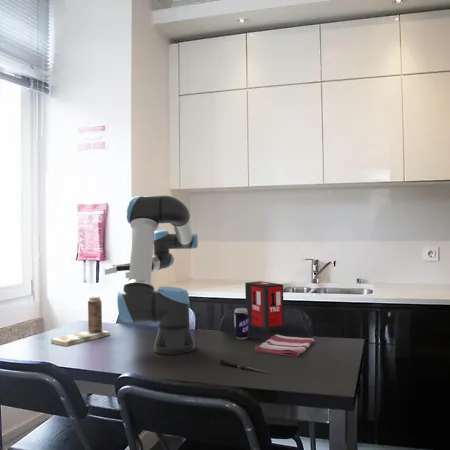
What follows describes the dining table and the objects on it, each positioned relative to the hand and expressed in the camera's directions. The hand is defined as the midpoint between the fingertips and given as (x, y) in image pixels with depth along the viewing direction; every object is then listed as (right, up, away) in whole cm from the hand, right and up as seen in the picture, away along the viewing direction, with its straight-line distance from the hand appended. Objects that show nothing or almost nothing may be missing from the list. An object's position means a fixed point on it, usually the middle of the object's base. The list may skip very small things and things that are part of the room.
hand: (115, 273), depth 206 cm
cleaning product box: (+67, -25, +3) cm, 72 cm away
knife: (+58, -25, -60) cm, 87 cm away
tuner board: (-11, -26, -13) cm, 31 cm away
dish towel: (+72, -25, -32) cm, 83 cm away
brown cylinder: (-6, -24, -8) cm, 26 cm away
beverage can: (+56, -25, -17) cm, 64 cm away
